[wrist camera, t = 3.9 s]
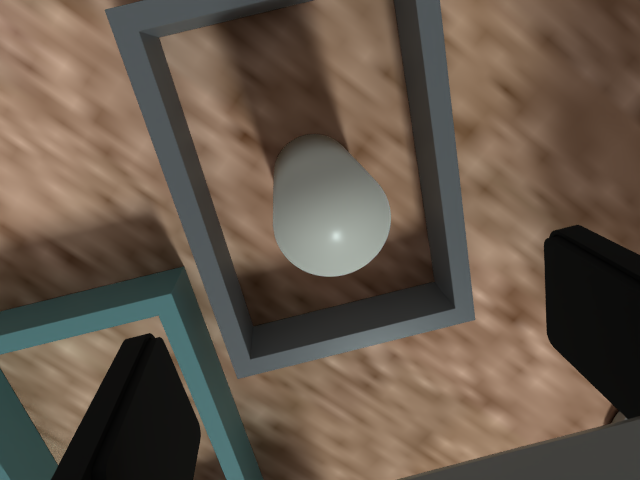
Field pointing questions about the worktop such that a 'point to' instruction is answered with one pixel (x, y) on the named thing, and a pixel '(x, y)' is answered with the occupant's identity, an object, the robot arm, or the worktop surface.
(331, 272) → the canister
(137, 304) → the bin
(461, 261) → the bin
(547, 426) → the worktop surface
